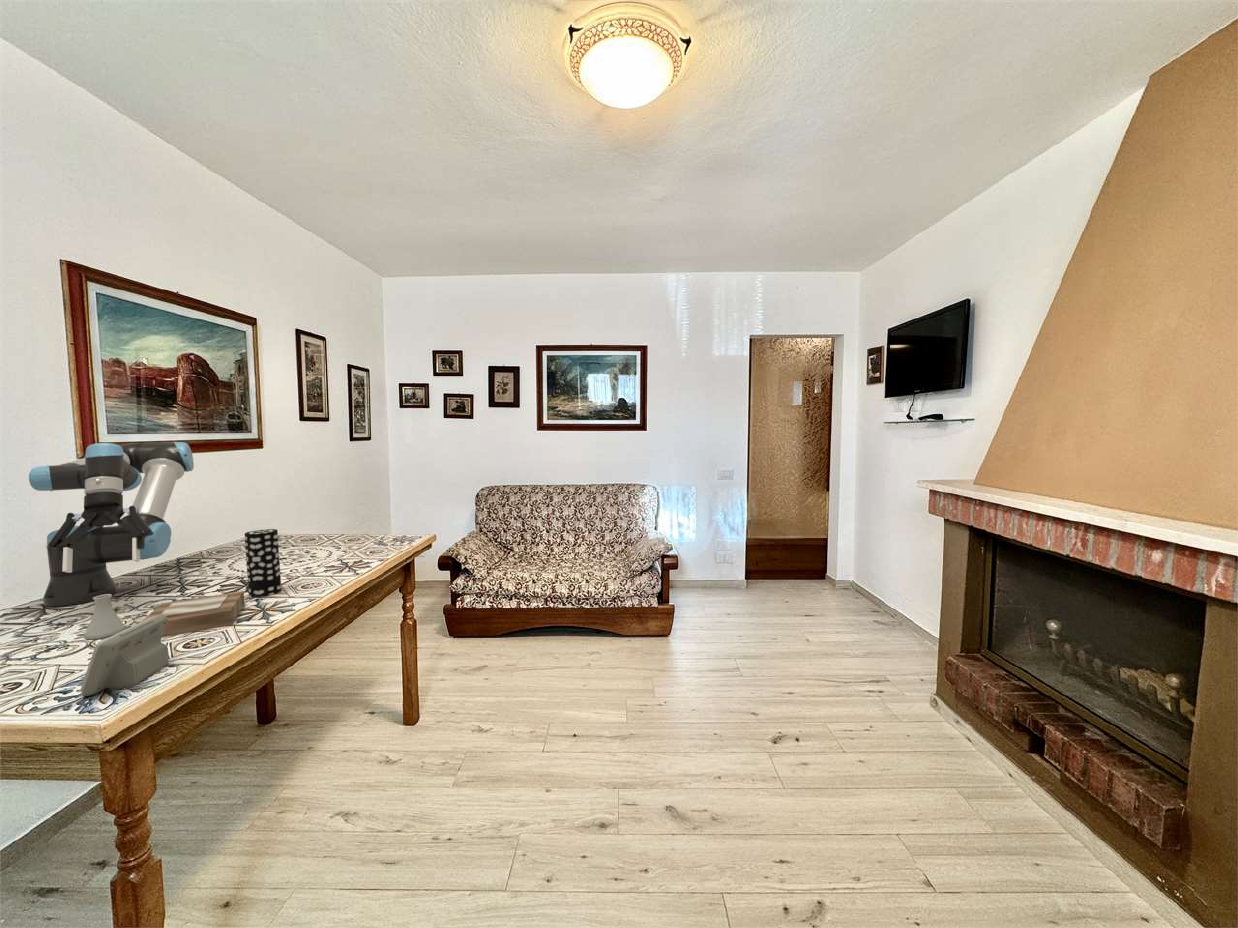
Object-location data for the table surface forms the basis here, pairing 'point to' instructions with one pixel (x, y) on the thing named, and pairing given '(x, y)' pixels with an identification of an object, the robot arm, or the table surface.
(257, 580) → the white-spotted black cylinder
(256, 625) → the table surface
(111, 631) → the flask
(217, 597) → the walnut plinth
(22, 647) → the table surface
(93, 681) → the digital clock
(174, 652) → the table surface
